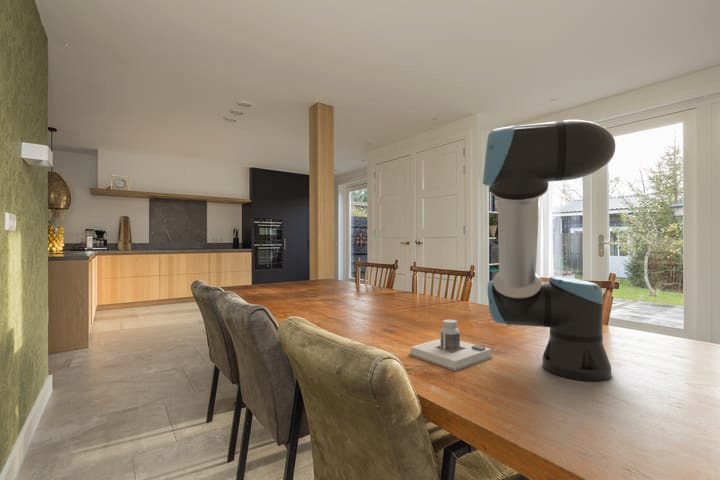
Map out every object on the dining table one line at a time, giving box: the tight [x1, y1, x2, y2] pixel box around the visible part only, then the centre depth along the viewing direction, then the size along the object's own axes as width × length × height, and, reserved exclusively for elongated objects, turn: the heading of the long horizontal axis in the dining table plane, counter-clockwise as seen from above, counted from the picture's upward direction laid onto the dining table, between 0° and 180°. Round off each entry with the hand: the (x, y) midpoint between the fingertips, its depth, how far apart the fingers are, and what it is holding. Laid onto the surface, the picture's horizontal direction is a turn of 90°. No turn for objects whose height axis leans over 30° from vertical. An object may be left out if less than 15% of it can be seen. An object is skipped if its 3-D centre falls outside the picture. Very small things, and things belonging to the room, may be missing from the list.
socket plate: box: [408, 338, 493, 372], centre depth 105 cm, size 17×17×3 cm
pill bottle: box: [440, 319, 461, 353], centre depth 105 cm, size 5×5×10 cm
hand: (515, 258), depth 121 cm, fingers open, 13 cm apart
